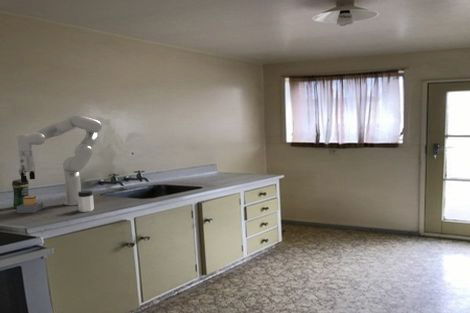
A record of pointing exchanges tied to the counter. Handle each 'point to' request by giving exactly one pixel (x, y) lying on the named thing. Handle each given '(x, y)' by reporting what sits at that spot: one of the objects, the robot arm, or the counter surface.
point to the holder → (30, 208)
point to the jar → (85, 201)
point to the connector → (29, 200)
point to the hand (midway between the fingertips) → (28, 180)
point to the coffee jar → (19, 191)
